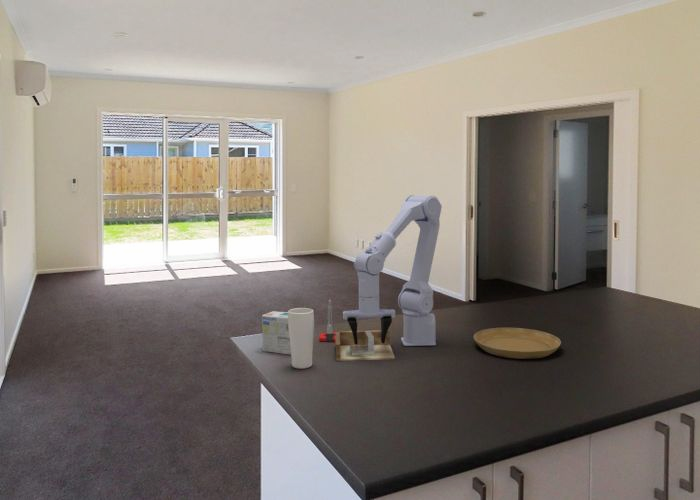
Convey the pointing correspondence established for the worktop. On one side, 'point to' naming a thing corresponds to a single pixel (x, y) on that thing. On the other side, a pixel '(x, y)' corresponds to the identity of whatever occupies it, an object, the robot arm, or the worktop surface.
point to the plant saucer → (517, 342)
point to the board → (379, 354)
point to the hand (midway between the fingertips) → (369, 343)
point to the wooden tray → (348, 339)
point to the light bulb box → (276, 332)
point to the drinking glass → (301, 336)
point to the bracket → (364, 346)
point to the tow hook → (328, 328)
